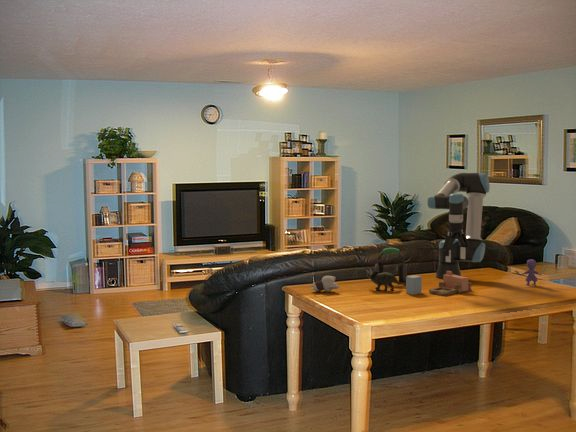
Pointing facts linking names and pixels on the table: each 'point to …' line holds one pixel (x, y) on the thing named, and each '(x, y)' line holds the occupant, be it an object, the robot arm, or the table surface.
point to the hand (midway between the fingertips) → (455, 260)
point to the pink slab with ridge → (455, 281)
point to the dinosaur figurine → (382, 279)
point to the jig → (448, 289)
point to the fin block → (414, 284)
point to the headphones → (401, 266)
